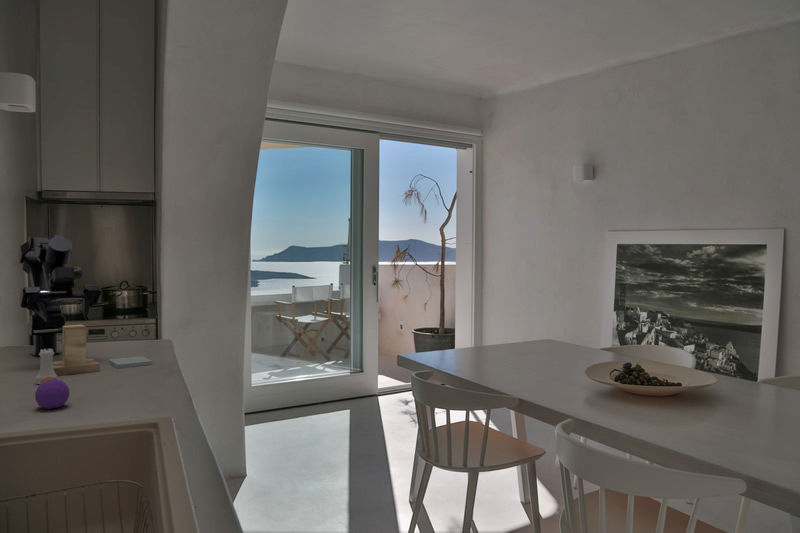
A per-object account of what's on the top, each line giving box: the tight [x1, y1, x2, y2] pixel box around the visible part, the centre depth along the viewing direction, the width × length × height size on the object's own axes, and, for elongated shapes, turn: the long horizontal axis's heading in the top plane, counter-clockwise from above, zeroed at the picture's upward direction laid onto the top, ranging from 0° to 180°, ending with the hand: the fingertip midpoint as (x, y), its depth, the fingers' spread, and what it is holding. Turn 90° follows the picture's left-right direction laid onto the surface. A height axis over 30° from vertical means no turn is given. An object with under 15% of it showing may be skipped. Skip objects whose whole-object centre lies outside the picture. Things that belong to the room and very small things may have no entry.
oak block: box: [62, 324, 87, 367], centre depth 149 cm, size 4×4×10 cm
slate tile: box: [108, 355, 153, 369], centre depth 162 cm, size 9×9×1 cm
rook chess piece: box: [35, 349, 58, 386], centre depth 138 cm, size 4×4×8 cm
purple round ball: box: [34, 376, 70, 410], centre depth 123 cm, size 6×6×20 cm
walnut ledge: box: [52, 357, 101, 377], centre depth 152 cm, size 10×11×2 cm
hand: (67, 319), depth 155 cm, fingers open, 9 cm apart
